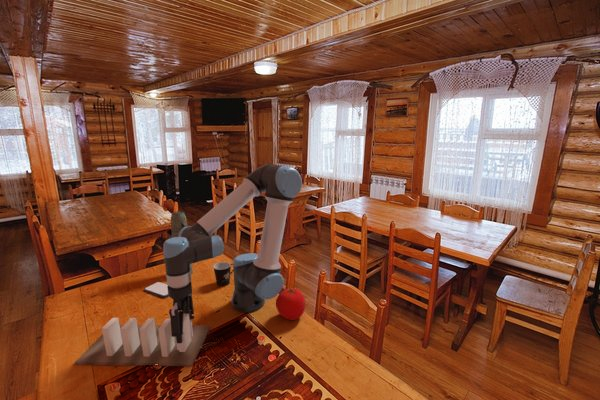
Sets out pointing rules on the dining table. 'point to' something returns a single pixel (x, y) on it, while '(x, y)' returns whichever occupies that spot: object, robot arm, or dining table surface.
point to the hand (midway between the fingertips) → (185, 342)
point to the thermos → (178, 225)
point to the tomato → (290, 304)
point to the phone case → (158, 289)
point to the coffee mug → (222, 273)
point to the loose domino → (186, 330)
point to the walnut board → (175, 358)
